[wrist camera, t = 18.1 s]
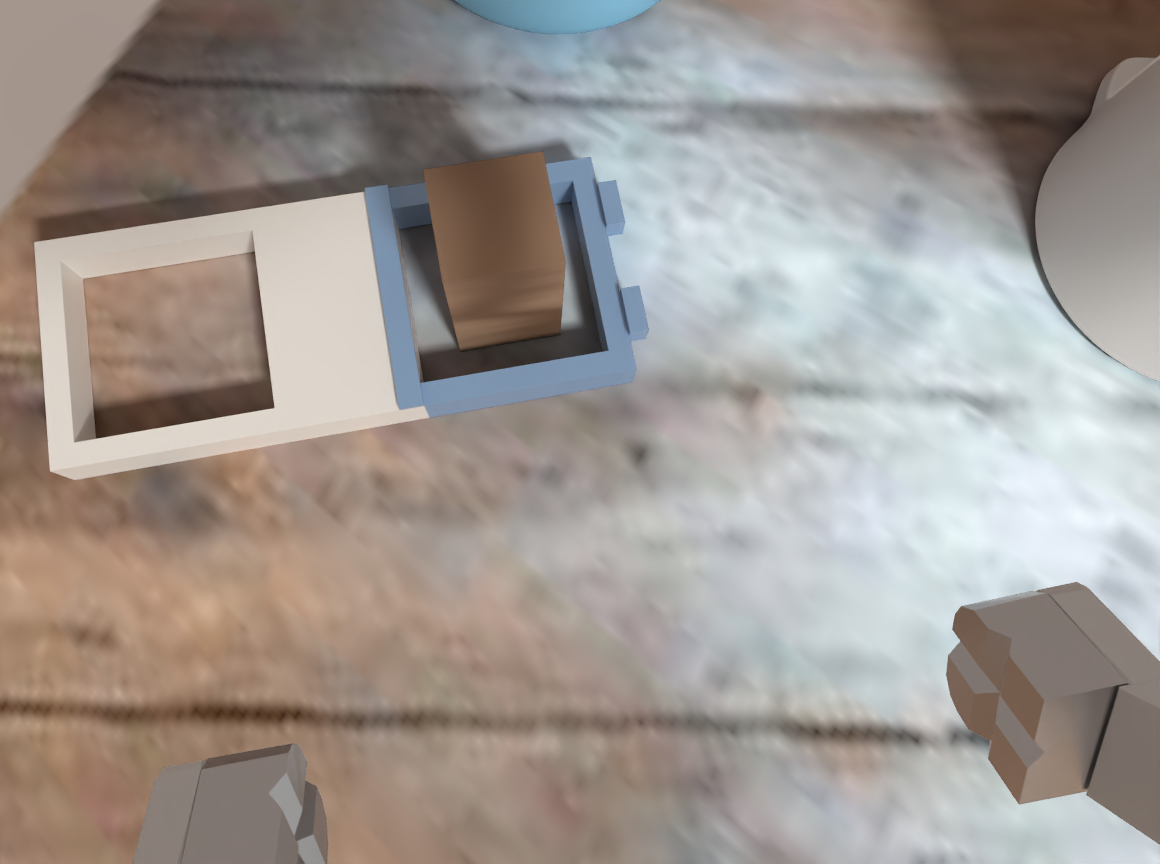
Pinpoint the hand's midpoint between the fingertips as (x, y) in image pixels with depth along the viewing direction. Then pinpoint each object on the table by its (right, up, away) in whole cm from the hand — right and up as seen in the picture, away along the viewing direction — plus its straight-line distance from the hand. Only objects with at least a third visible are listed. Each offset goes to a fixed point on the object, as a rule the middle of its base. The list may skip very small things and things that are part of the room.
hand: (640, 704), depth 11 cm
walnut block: (-4, +9, +30) cm, 32 cm away
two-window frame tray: (-11, +8, +30) cm, 33 cm away
